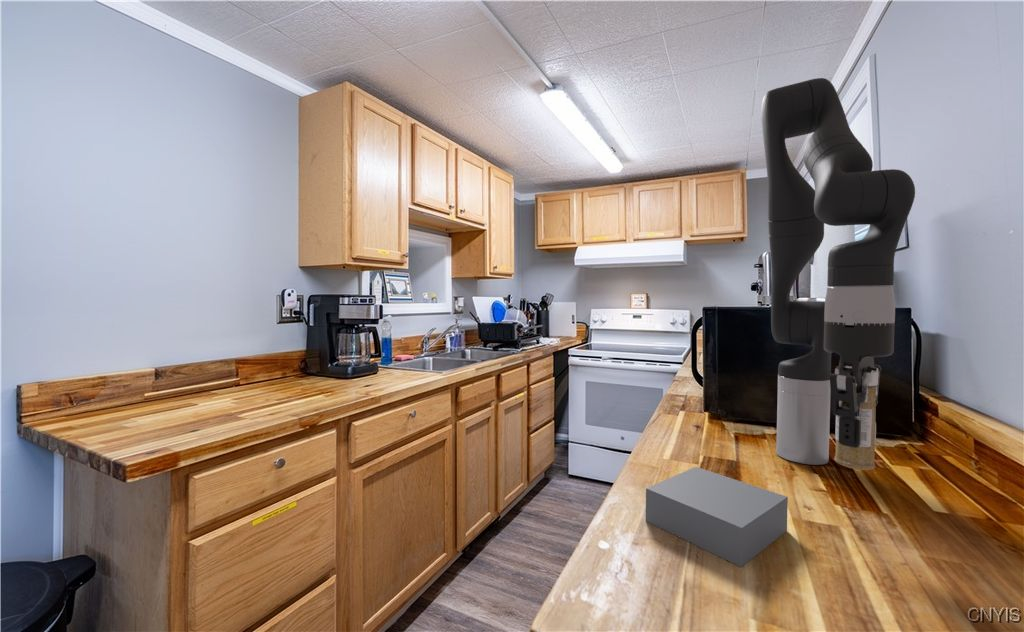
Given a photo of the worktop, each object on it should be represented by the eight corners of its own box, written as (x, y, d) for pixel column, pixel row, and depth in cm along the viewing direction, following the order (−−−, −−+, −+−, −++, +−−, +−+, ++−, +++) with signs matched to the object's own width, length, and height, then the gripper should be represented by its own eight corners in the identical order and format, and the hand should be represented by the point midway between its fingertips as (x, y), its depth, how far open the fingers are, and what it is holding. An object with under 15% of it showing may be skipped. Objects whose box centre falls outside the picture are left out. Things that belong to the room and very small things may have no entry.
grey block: (695, 495, 73) (695, 466, 72) (786, 530, 61) (787, 496, 61) (645, 520, 64) (645, 488, 64) (741, 567, 53) (741, 527, 53)
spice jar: (880, 466, 59) (883, 369, 58) (868, 474, 56) (871, 373, 56) (840, 456, 63) (843, 365, 62) (827, 463, 60) (830, 368, 59)
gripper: (841, 316, 66) (838, 425, 67) (807, 320, 57) (804, 445, 58) (906, 318, 60) (902, 437, 61) (879, 323, 51) (875, 462, 52)
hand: (854, 441), depth 59 cm, fingers closed on spice jar, 4 cm apart
